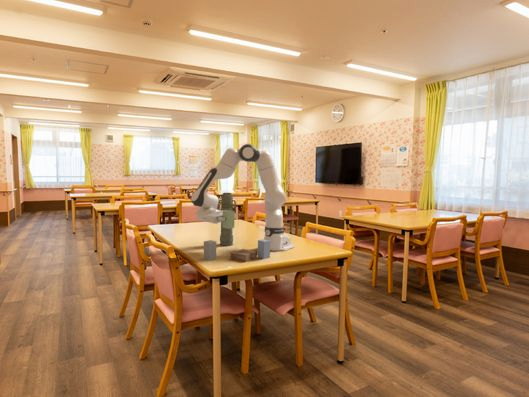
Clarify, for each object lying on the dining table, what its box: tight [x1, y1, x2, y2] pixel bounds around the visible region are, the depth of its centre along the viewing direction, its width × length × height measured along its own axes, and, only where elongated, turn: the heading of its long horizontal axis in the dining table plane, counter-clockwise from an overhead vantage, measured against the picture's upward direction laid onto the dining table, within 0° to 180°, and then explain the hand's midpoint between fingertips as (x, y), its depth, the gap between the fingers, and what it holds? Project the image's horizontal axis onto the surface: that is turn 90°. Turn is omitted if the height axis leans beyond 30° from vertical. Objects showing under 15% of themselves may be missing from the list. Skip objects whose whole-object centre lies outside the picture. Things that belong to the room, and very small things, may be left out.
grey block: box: [203, 239, 217, 261], centre depth 194 cm, size 5×5×10 cm
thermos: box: [218, 192, 237, 247], centre depth 232 cm, size 9×12×35 cm
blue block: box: [257, 238, 271, 260], centre depth 200 cm, size 5×5×10 cm
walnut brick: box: [230, 248, 258, 263], centre depth 197 cm, size 12×10×4 cm
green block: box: [222, 210, 235, 229], centre depth 205 cm, size 5×5×10 cm
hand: (229, 218), depth 204 cm, fingers closed on green block, 5 cm apart
